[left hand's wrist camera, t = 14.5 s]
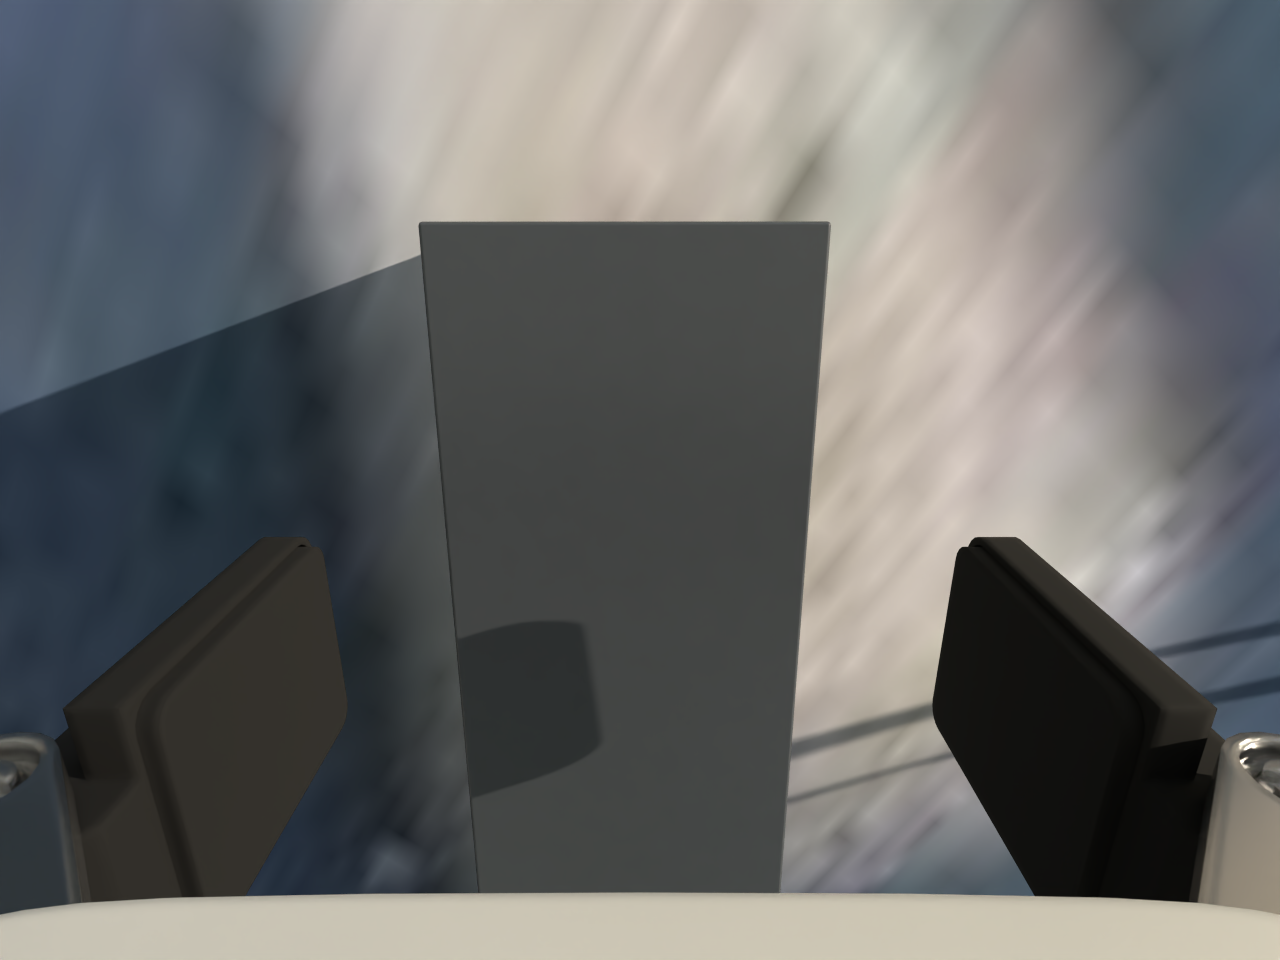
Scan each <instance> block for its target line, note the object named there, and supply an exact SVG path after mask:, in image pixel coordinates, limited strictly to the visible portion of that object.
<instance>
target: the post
mask: <svg viewBox="0 0 1280 960" xmlns="http://www.w3.org/2000/svg"><path fill="white" fill-rule="evenodd" d="M830 231H831V224H830V223H829V222H420V223H419V236H420V247H421V258H422V269H423V281H424V292H425V303H426V314H427V325H428V336H429V347H430V359H431V370H432V381H433V392H434V403H435V414H436V425H437V436H438V448H439V459H440V470H441V481H442V492H443V503H444V514H445V526H446V537H447V548H448V559H449V570H450V581H451V592H452V603H453V615H454V626H455V637H456V648H457V659H458V670H459V681H460V693H461V704H462V715H463V726H464V737H465V748H466V759H467V770H468V782H469V793H470V804H471V815H472V826H473V837H474V848H475V859H476V871H477V882H478V893H780V889H781V875H782V862H783V849H784V836H785V823H786V810H787V796H788V783H789V770H790V757H791V744H792V731H793V718H794V704H795V691H796V678H797V665H798V652H799V639H800V625H801V612H802V599H803V586H804V573H805V560H806V546H807V533H808V520H809V507H810V494H811V481H812V467H813V454H814V441H815V428H816V415H817V402H818V388H819V375H820V362H821V349H822V336H823V323H824V309H825V296H826V283H827V270H828V257H829V244H830Z"/></svg>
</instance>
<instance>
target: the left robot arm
mask: <svg viewBox="0 0 1280 960" xmlns="http://www.w3.org/2000/svg"><path fill="white" fill-rule="evenodd" d="M63 711H64V714H65V717H66V720H67V723H68V727H69V728H68V729H67V730H66V731H65V732H64V733H63V734H61V735H60V736H59V737H58V738H57V739H56V740H54V739H53V738H51V737H49V736H46V735H44V734H41V733H32V732H16V733H8V734H0V960H1280V734H1272V733H1264V732H1248V733H1239V734H1236V735H1234V736H1231V737H1229V738H1227V739H1226V740H1224V739H1223V738H1222V737H1221V736H1220V735H1219V734H1217V733H1216V732H1215V731H1214V730H1213V729H1212V728H1211V727H1212V723H1213V720H1214V717H1215V714H1216V711H1217V708H1216V707H1215V706H1214V705H1212V704H1211V703H1210V702H1209V701H1208V700H1207V699H1205V698H1204V697H1203V696H1202V695H1201V694H1200V693H1198V692H1197V691H1196V690H1195V689H1194V688H1193V687H1192V686H1190V685H1189V684H1188V683H1187V682H1186V681H1185V680H1183V679H1182V678H1181V677H1180V676H1179V675H1178V674H1176V673H1175V672H1174V671H1173V670H1172V669H1171V668H1169V667H1168V666H1167V665H1166V664H1165V663H1164V662H1162V661H1161V660H1160V659H1159V658H1158V657H1157V656H1155V655H1154V654H1153V653H1152V652H1151V651H1150V650H1148V649H1147V648H1146V647H1145V646H1144V645H1143V644H1141V643H1140V642H1139V641H1138V640H1137V639H1136V638H1134V637H1133V636H1132V635H1131V634H1130V633H1129V632H1127V631H1126V630H1125V629H1124V628H1123V627H1122V626H1120V625H1119V624H1118V623H1117V622H1116V621H1115V620H1113V619H1112V618H1111V617H1110V616H1109V615H1108V614H1106V613H1105V612H1104V611H1103V610H1102V609H1101V608H1099V607H1098V606H1097V605H1096V604H1095V603H1094V602H1092V601H1091V600H1090V599H1089V598H1088V597H1087V596H1085V595H1084V594H1083V593H1082V592H1081V591H1080V590H1078V589H1077V588H1076V587H1075V586H1074V585H1073V584H1071V583H1070V582H1069V581H1068V580H1067V579H1066V578H1064V577H1063V576H1062V575H1061V574H1060V573H1059V572H1058V571H1056V570H1055V569H1054V568H1053V567H1052V566H1051V565H1049V564H1048V563H1047V562H1046V561H1045V560H1044V559H1042V558H1041V557H1040V556H1039V555H1038V554H1037V553H1035V552H1034V551H1033V550H1032V549H1031V548H1030V547H1028V546H1027V545H1026V544H1025V543H1024V542H1023V541H1021V540H1020V539H1018V538H1016V537H976V538H974V539H973V540H972V541H971V542H970V544H969V546H968V547H962V548H960V549H959V551H958V553H957V556H956V561H955V567H954V573H953V579H952V585H951V591H950V597H949V604H948V610H947V616H946V622H945V628H944V634H943V640H942V647H941V653H940V659H939V665H938V671H937V677H936V683H935V689H934V696H933V715H934V720H935V723H936V725H937V728H938V729H939V731H940V733H941V735H942V736H943V738H944V740H945V742H946V743H947V745H948V747H949V748H950V750H951V752H952V754H953V755H954V757H955V759H956V761H957V762H958V764H959V766H960V767H961V769H962V771H963V773H964V774H965V776H966V778H967V780H968V781H969V783H970V785H971V786H972V788H973V790H974V792H975V793H976V795H977V797H978V799H979V800H980V802H981V804H982V805H983V807H984V809H985V811H986V812H987V814H988V816H989V818H990V819H991V821H992V823H993V825H994V826H995V828H996V830H997V831H998V833H999V835H1000V837H1001V838H1002V840H1003V842H1004V844H1005V845H1006V847H1007V849H1008V850H1009V852H1010V854H1011V856H1012V857H1013V859H1014V861H1015V863H1016V864H1017V866H1018V868H1019V869H1020V871H1021V873H1022V875H1023V876H1024V878H1025V880H1026V882H1027V883H1028V885H1029V887H1030V889H1031V890H1032V892H1033V894H1034V895H1035V896H993V895H942V894H840V893H439V894H338V895H287V896H245V895H246V894H247V892H248V890H249V889H250V887H251V885H252V883H253V882H254V880H255V878H256V876H257V875H258V873H259V871H260V869H261V868H262V866H263V864H264V863H265V861H266V859H267V857H268V856H269V854H270V852H271V850H272V849H273V847H274V845H275V844H276V842H277V840H278V838H279V837H280V835H281V833H282V831H283V830H284V828H285V826H286V825H287V823H288V821H289V819H290V818H291V816H292V814H293V812H294V811H295V809H296V807H297V805H298V804H299V802H300V800H301V799H302V797H303V795H304V793H305V792H306V790H307V788H308V786H309V785H310V783H311V781H312V780H313V778H314V776H315V774H316V773H317V771H318V769H319V767H320V766H321V764H322V762H323V761H324V759H325V757H326V755H327V754H328V752H329V750H330V748H331V747H332V745H333V743H334V742H335V740H336V738H337V736H338V735H339V733H340V731H341V729H342V728H343V725H344V723H345V720H346V715H347V696H346V689H345V683H344V677H343V671H342V665H341V659H340V653H339V647H338V640H337V634H336V628H335V622H334V616H333V610H332V604H331V597H330V591H329V585H328V579H327V573H326V567H325V561H324V556H323V553H322V551H321V549H320V548H318V547H312V546H311V544H310V542H309V541H308V540H307V539H306V538H304V537H264V538H262V539H260V540H259V541H257V542H256V543H255V544H254V545H253V546H252V547H250V548H249V549H248V550H247V551H246V552H245V553H243V554H242V555H241V556H240V557H239V558H238V559H236V560H235V561H234V562H233V563H232V564H231V565H229V566H228V567H227V568H226V569H225V570H224V571H222V572H221V573H220V574H219V575H218V576H217V577H216V578H214V579H213V580H212V581H211V582H210V583H209V584H207V585H206V586H205V587H204V588H203V589H202V590H200V591H199V592H198V593H197V594H196V595H195V596H193V597H192V598H191V599H190V600H189V601H188V602H186V603H185V604H184V605H183V606H182V607H181V608H179V609H178V610H177V611H176V612H175V613H174V614H172V615H171V616H170V617H169V618H168V619H167V620H165V621H164V622H163V623H162V624H161V625H160V626H158V627H157V628H156V629H155V630H154V631H153V632H151V633H150V634H149V635H148V636H147V637H146V638H144V639H143V640H142V641H141V642H140V643H139V644H137V645H136V646H135V647H134V648H133V649H132V650H130V651H129V652H128V653H127V654H126V655H125V656H123V657H122V658H121V659H120V660H119V661H118V662H116V663H115V664H114V665H113V666H112V667H111V668H109V669H108V670H107V671H106V672H105V673H104V674H102V675H101V676H100V677H99V678H98V679H97V680H95V681H94V682H93V683H92V684H91V685H90V686H88V687H87V688H86V689H85V690H84V691H83V692H82V693H80V694H79V695H78V696H77V697H76V698H75V699H73V700H72V701H71V702H70V703H69V704H68V705H66V706H65V707H64V708H63Z"/></svg>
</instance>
